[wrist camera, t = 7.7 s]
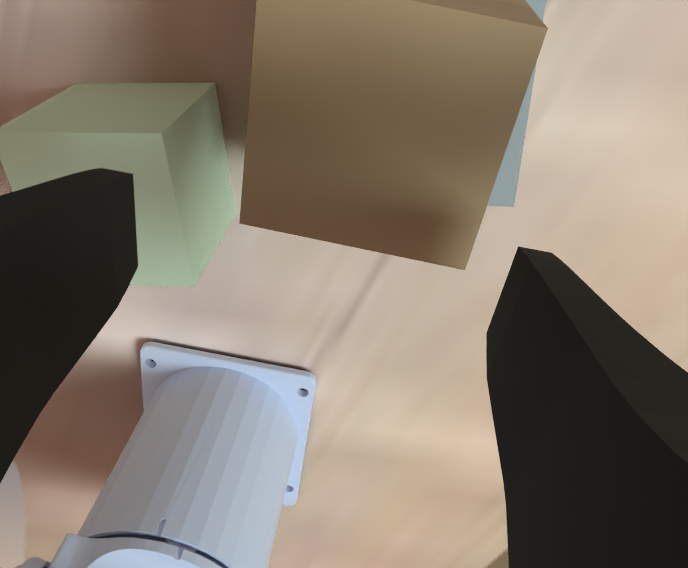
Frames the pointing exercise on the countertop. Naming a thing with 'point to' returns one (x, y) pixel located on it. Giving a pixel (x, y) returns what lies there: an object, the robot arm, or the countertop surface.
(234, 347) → the countertop surface
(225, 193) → the sage cube
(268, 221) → the walnut cube
